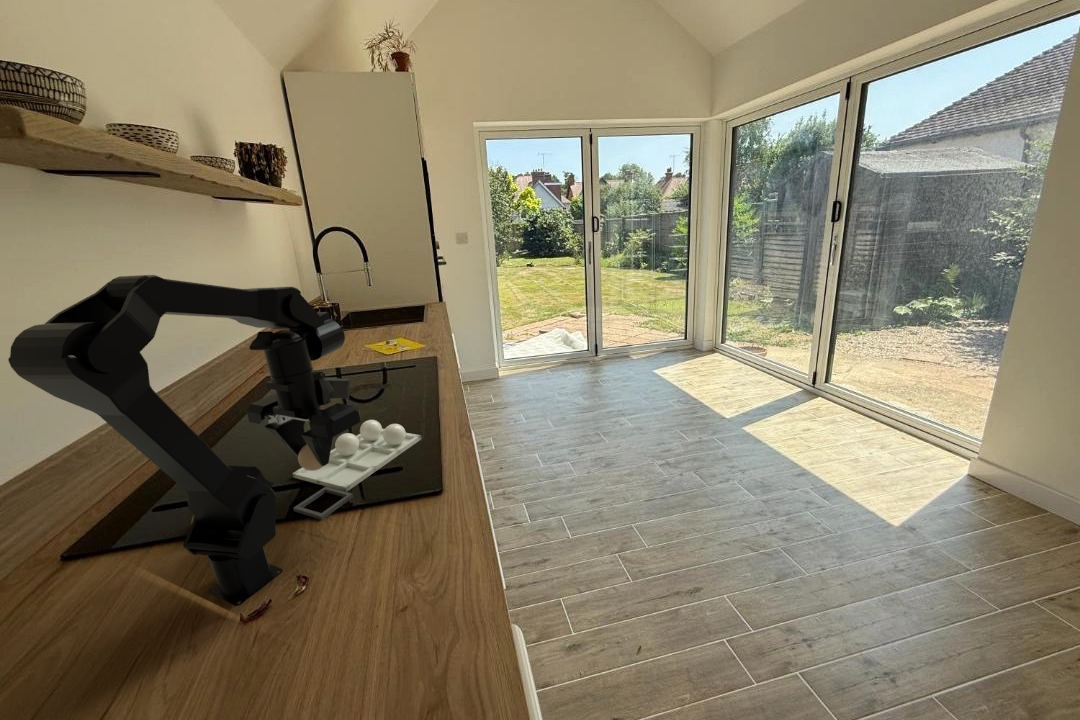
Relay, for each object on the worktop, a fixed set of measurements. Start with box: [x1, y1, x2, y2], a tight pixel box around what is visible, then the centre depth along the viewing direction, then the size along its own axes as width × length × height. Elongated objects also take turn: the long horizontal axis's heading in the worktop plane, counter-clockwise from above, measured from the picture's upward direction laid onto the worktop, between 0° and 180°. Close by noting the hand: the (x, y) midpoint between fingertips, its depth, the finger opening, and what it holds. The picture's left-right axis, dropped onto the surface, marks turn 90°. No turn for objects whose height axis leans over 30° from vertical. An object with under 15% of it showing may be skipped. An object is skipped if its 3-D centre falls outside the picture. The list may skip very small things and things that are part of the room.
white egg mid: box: [334, 432, 359, 456], centre depth 91 cm, size 4×4×4 cm
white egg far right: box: [359, 419, 383, 441], centre depth 97 cm, size 4×4×4 cm
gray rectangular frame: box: [293, 486, 354, 521], centre depth 76 cm, size 6×6×1 cm
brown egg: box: [297, 445, 323, 471], centre depth 74 cm, size 4×4×4 cm
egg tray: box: [291, 428, 422, 492], centre depth 91 cm, size 14×20×2 cm
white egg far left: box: [383, 423, 407, 446], centre depth 94 cm, size 4×4×4 cm
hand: (314, 462), depth 74 cm, fingers closed on brown egg, 4 cm apart
